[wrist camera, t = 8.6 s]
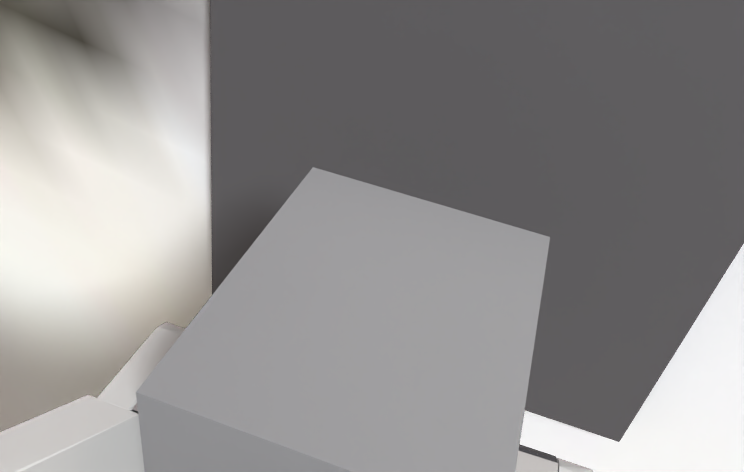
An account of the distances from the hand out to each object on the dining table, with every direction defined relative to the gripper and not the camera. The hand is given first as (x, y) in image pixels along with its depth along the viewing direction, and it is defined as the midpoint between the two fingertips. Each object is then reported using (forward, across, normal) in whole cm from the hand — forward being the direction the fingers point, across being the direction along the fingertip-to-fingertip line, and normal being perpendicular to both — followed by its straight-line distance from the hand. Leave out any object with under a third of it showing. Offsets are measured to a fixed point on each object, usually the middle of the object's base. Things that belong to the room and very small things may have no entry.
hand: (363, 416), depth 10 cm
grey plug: (+2, 0, +1) cm, 2 cm away
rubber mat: (+7, 0, 0) cm, 7 cm away
